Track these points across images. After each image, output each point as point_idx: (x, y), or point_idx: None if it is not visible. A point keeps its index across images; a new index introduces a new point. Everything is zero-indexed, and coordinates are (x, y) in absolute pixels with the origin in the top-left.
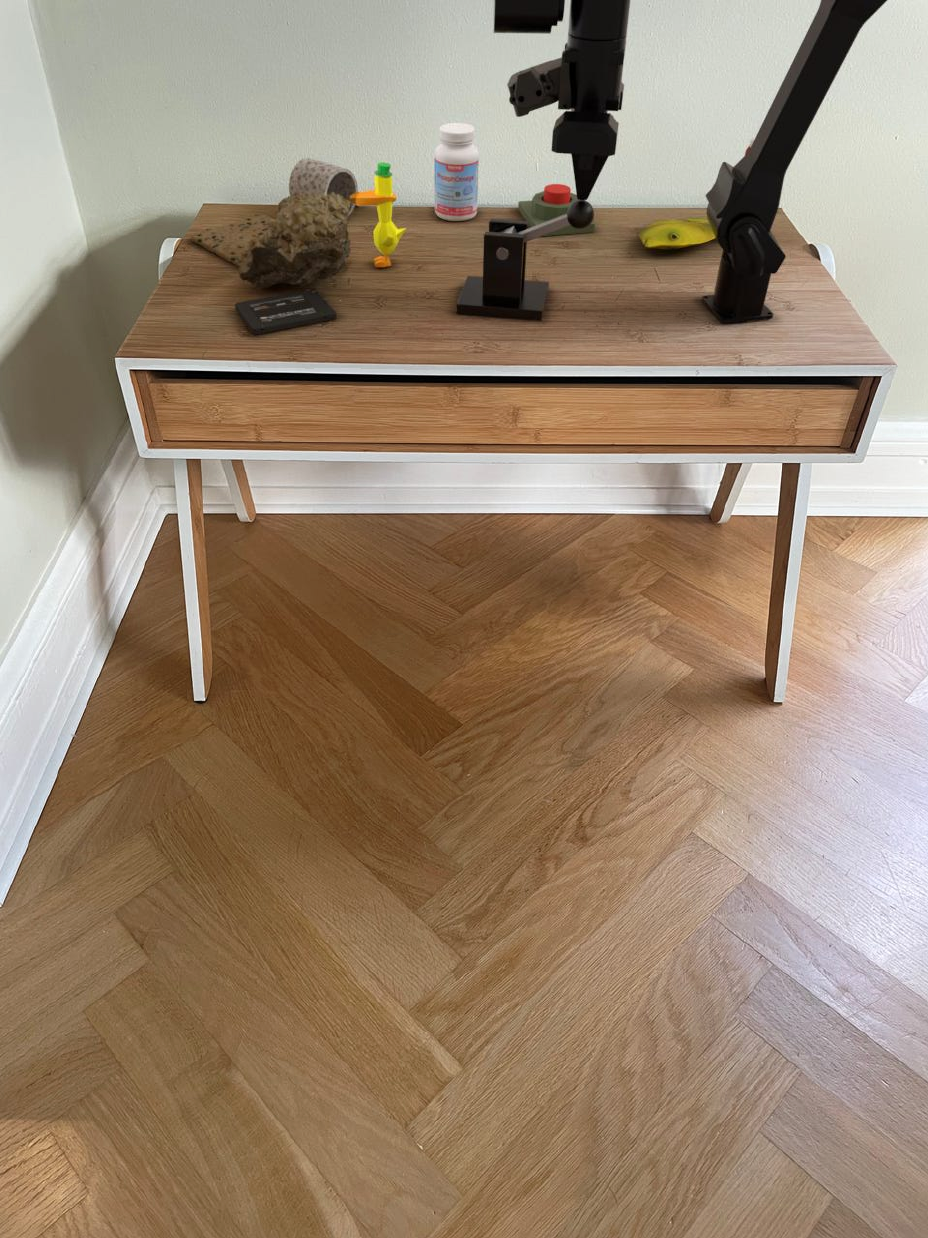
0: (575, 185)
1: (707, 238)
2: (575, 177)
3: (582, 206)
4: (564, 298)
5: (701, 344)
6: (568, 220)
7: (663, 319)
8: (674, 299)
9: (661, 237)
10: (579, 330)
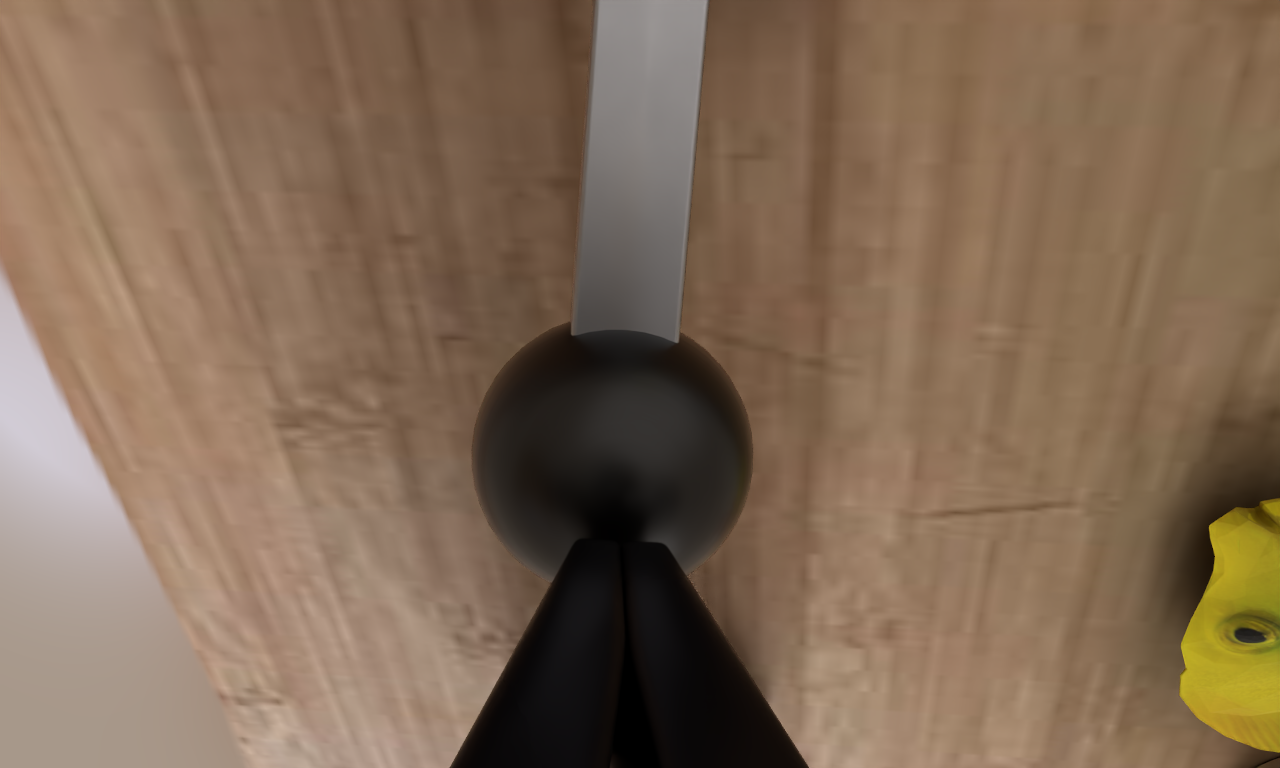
0: (525, 643)
1: (1233, 718)
2: (461, 747)
3: (517, 540)
4: (736, 69)
5: (331, 611)
6: (548, 331)
7: None
8: (736, 555)
9: (1269, 587)
10: (327, 149)
